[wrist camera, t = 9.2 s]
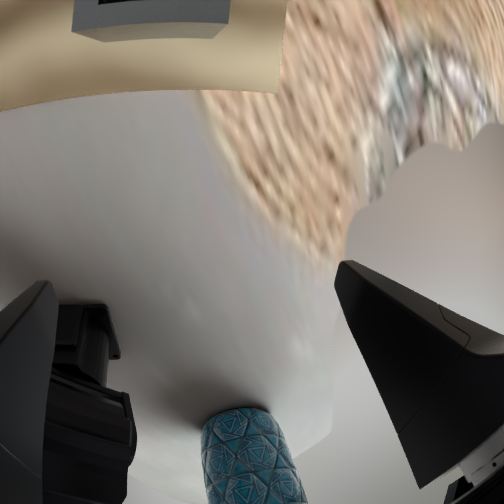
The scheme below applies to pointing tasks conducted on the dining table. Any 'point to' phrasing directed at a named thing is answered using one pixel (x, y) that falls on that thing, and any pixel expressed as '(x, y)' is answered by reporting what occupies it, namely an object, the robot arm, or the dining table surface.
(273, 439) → the lamp
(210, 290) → the dining table surface
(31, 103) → the board
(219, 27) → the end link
